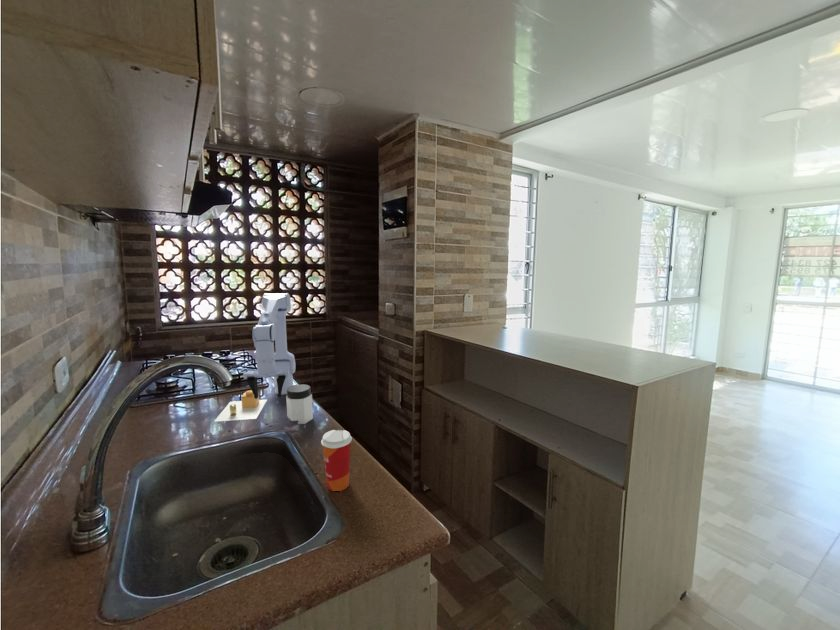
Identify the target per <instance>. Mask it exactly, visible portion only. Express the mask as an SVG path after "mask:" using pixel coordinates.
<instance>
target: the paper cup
mask: <svg viewBox="0 0 840 630" xmlns="http://www.w3.org/2000/svg"><path fill="white" fill-rule="evenodd" d="M352 437H353V436H351V433H350V432H349V431H347V430H345V429H343V430H342V429H337V430H336V429H331V430H329V431H327V432H325V433H324V434H323V435H322V439H321V441H320V444H321V445H322V451H323V452H322V453H323V461H324V469H325V471H324V472H325V480H326V487H328V488H327V489H330V490H332V491H340V492H343V491H345V490H346V488H347V487H348V488H349V486H350V471H351V470H350V469H351V467H350V466H351V443H352V439H353V438H352ZM348 488H347V489H348ZM344 489H345V490H344ZM330 490H329V491H330ZM342 490H343V491H342ZM332 491H331V492H332Z"/></svg>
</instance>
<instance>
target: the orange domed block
mask: <svg viewBox="0 0 840 630" xmlns="http://www.w3.org/2000/svg"><path fill="white" fill-rule="evenodd" d="M259 392H260V391H259V390H258V398H257V399H255V397H254V394H253V392H252V390H251V389H250V390H246V391H244V393H243V394H242V395H241V397H240V398H241V401H242V408H253V407H257V405H258V404H259V400H260V393H259Z"/></svg>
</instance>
